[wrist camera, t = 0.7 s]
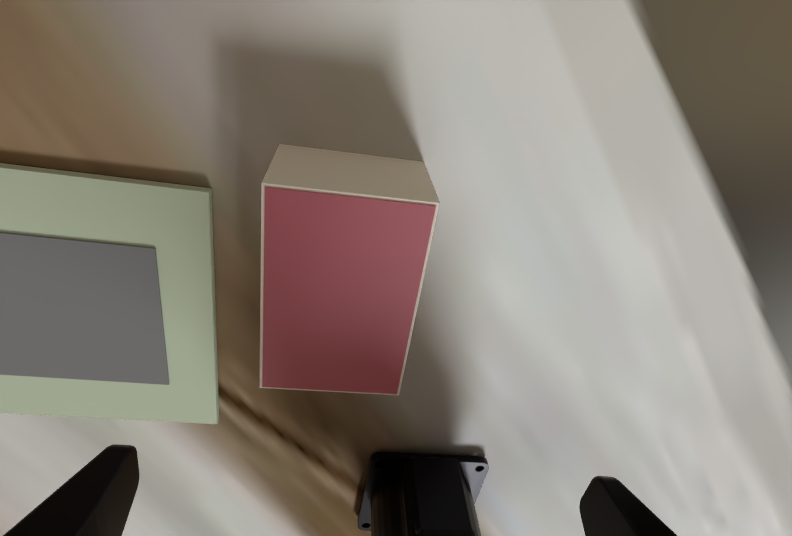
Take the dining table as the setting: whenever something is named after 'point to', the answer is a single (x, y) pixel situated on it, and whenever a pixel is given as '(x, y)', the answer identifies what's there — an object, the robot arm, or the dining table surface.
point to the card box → (341, 268)
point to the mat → (106, 297)
